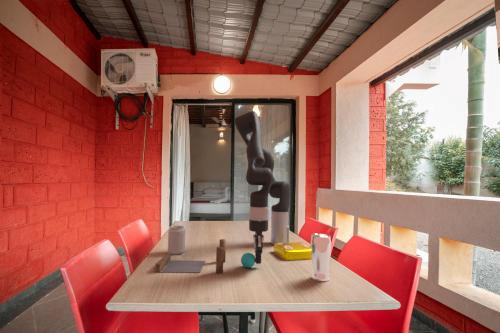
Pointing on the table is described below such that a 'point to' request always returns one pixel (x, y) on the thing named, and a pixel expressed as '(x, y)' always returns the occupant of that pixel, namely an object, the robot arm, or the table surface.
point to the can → (176, 240)
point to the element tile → (293, 251)
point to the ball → (248, 260)
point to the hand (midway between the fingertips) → (258, 263)
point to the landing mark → (184, 266)
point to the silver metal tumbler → (320, 256)
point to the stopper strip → (162, 262)
